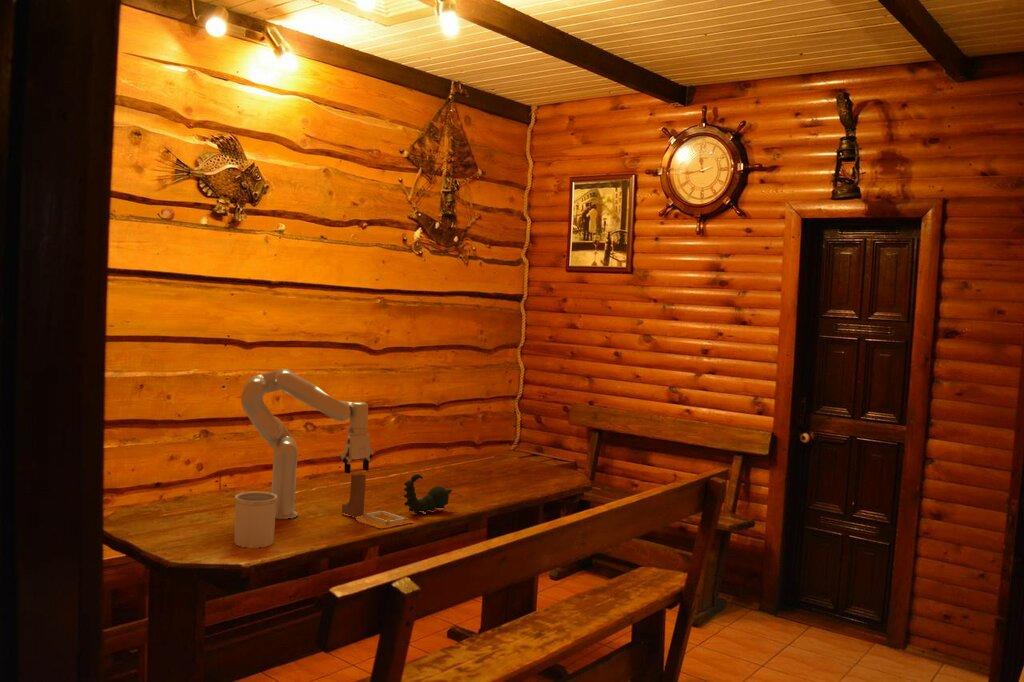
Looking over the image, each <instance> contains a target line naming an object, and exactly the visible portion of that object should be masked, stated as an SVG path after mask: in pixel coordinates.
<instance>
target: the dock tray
mask: <svg viewBox="0 0 1024 682" xmlns="http://www.w3.org/2000/svg"><path fill="white" fill-rule="evenodd" d="M380 514H384V515H387V516H389V517H392V518H395V520H390V521H387V520H384V519H381V518H378V517H375V516H376V515H380ZM363 517H364V518H368V519H370V520H374V521H377V522H380V523H383V524H386V525H390V524H395V523H400V522H404V521H406V518H407V517H403V516H400V515H397V514H394V513H392V514H391V512H388V511H384V510H378V511H373V512H367V513H364V515H363ZM356 519H358V520H361V521H364V520H365V519H363V518H356ZM364 522H366V520H365V521H364ZM367 523H368V522H367ZM374 525H375V524H374ZM376 526H377V525H376Z"/></svg>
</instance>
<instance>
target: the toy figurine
mask: <svg viewBox="0 0 1024 682" xmlns="http://www.w3.org/2000/svg"><path fill="white" fill-rule="evenodd" d="M419 479H421V480H423V475H421V474H419V473H418V474H416V473H415V474H414V475H412V476H411V478H410V479H409V480H407V481H406V482H404V484H403V485H404V486H406V487H404V489H403V490H404V492H405V494H404V495H403V497H404V498H405V499H406V501H405V502H404V506H405V507H409V508H408V511H409V512H410V511H412V512H413V513H414V512H415V513H417V514H419V511H424V512H426V511H427V510H431V511H434V510H435V511H437V509H436V508H444V509H445V506H446V505H448V504H449V499H450V496H449V495H450V494H451V492H452V491H453V489H446V488H444V487H443V486H441V485H440V486H434V487H432V488H431V489H429V491H428V492H427V495H424V496H423V497H422V498H420V499H418V498H417V494H416V492H415V491H416V487H415V482H416V481H418V480H419ZM427 512H428V511H427ZM415 513H414V514H415Z"/></svg>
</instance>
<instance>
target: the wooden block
mask: <svg viewBox="0 0 1024 682" xmlns="http://www.w3.org/2000/svg"><path fill="white" fill-rule="evenodd" d="M350 477H351V478H350V492H349V501H348V503H347V502H346V503H343V504H342V506H341V514H342V513H345V514H348V515H351V516H354V517H357V516H361V515H363V516H364V514H365V513H364V511H365V497H366V496H365V495H366V482H367V481H366V479H367V476H366V474H363V473H354V474H351V476H350Z"/></svg>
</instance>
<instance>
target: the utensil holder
mask: <svg viewBox="0 0 1024 682" xmlns="http://www.w3.org/2000/svg"><path fill="white" fill-rule="evenodd" d="M234 501H235V506H234V507H235V508H234V510H235V511H234V512H235V513H234V544H235V546H237V545H238V547H239V546H241V547H240V548H244V547H247V548H246V549H260V548H259V547H262V548H266V547H270V546H271V545H273V544H274V537H275V529H276V528H275V527H276V519H275V514H276V501H277V495H276V494H274V493H271V492H269V491H259V490H258V491H257V490H256V491H253V490H252V491H243V492H240V493H239V492H238V493H237V494H235V495H234Z"/></svg>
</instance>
